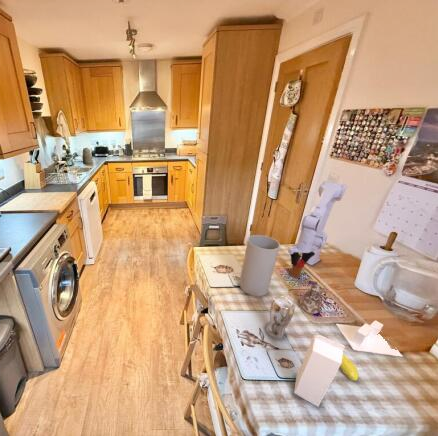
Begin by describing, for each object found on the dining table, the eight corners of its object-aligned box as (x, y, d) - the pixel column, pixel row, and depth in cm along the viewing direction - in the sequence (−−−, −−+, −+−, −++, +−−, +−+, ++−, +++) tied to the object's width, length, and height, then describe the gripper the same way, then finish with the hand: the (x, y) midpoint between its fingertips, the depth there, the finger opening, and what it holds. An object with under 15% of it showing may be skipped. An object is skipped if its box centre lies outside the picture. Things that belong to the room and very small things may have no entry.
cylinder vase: (238, 292, 106) (247, 246, 95) (239, 276, 116) (248, 233, 106) (268, 300, 101) (281, 252, 91) (266, 282, 112) (278, 237, 101)
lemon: (344, 381, 70) (349, 373, 69) (331, 357, 77) (335, 349, 76) (360, 384, 70) (365, 376, 68) (345, 359, 77) (349, 351, 75)
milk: (296, 376, 72) (317, 325, 63) (319, 389, 69) (345, 337, 60) (293, 393, 67) (315, 341, 58) (318, 408, 64) (346, 355, 55)
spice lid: (293, 260, 117) (294, 256, 116) (305, 264, 114) (306, 260, 113) (290, 265, 114) (291, 260, 113) (302, 269, 111) (303, 265, 110)
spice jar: (291, 271, 119) (295, 258, 116) (300, 275, 117) (304, 261, 113) (288, 275, 117) (292, 261, 113) (298, 279, 114) (302, 265, 111)
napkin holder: (354, 350, 80) (360, 339, 77) (335, 323, 90) (340, 312, 87) (403, 356, 77) (411, 345, 75) (378, 328, 88) (385, 317, 85)
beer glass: (283, 327, 88) (293, 297, 82) (287, 342, 82) (298, 311, 76) (263, 322, 90) (272, 293, 84) (265, 337, 85) (274, 306, 78)
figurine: (299, 309, 96) (307, 287, 91) (298, 298, 102) (306, 277, 97) (320, 316, 93) (329, 293, 88) (317, 304, 99) (326, 282, 94)
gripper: (311, 234, 113) (304, 257, 119) (286, 237, 110) (279, 261, 116) (324, 241, 107) (315, 265, 112) (297, 245, 104) (290, 269, 110)
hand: (298, 264), depth 114 cm, fingers closed on spice lid, 5 cm apart
